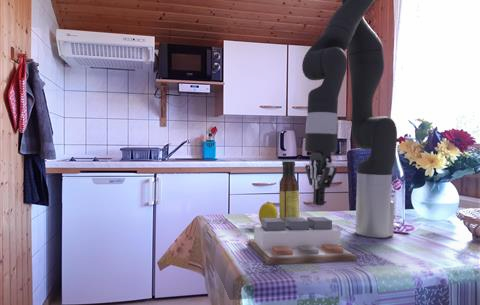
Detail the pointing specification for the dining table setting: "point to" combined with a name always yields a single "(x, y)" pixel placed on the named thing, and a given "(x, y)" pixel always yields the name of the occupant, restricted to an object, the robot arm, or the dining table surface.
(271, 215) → the lemon
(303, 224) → the button
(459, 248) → the dining table surface
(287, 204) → the sauce bottle
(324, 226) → the button
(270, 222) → the button
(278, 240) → the switch housing
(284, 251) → the switch base
